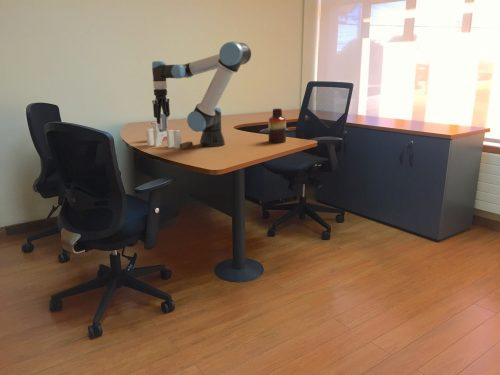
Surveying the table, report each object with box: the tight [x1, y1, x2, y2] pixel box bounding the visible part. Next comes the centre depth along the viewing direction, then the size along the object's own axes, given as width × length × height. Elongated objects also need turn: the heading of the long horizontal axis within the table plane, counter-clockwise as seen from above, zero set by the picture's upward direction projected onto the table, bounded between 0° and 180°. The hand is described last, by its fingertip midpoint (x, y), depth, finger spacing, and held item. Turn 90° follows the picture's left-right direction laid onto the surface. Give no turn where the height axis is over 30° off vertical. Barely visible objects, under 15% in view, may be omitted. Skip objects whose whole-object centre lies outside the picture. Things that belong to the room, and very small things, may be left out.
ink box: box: [150, 121, 167, 142], centre depth 274 cm, size 9×5×12 cm, turn 141°
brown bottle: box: [268, 108, 287, 144], centre depth 263 cm, size 11×11×20 cm
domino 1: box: [145, 128, 154, 147], centre depth 260 cm, size 2×5×10 cm, turn 154°
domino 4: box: [166, 129, 175, 149], centre depth 253 cm, size 2×5×10 cm, turn 154°
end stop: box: [179, 141, 194, 150], centre depth 250 cm, size 3×9×3 cm, turn 154°
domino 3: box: [158, 113, 167, 132], centre depth 253 cm, size 2×5×10 cm, turn 154°
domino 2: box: [153, 129, 162, 147], centre depth 258 cm, size 2×5×10 cm, turn 154°
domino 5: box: [173, 129, 182, 149], centre depth 251 cm, size 2×5×10 cm, turn 154°
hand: (162, 128), depth 254 cm, fingers closed on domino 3, 5 cm apart
